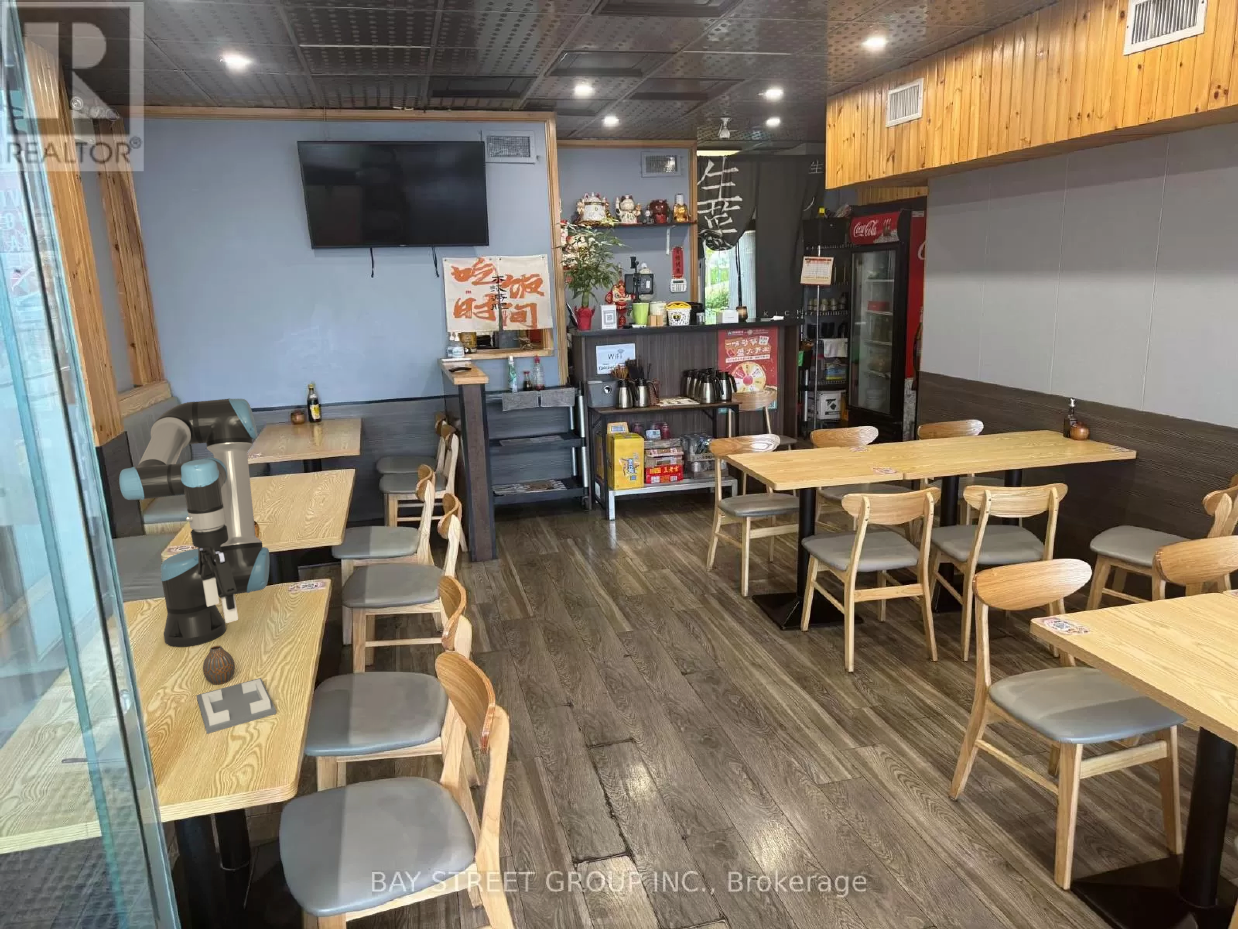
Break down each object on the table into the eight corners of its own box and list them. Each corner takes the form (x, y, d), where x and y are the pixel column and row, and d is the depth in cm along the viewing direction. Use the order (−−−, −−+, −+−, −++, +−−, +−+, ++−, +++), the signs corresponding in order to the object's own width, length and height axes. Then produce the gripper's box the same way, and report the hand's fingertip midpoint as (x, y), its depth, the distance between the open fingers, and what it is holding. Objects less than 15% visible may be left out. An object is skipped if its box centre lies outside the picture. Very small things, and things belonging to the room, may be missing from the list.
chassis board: (197, 699, 193) (195, 687, 192) (261, 682, 200) (259, 670, 199) (206, 733, 178) (204, 720, 177) (276, 713, 185) (274, 700, 184)
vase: (228, 671, 206) (223, 638, 204) (242, 679, 202) (236, 645, 200) (200, 682, 201) (194, 649, 199) (213, 690, 197) (208, 656, 195)
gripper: (175, 519, 198) (189, 602, 203) (208, 543, 180) (222, 633, 185) (208, 512, 203) (221, 594, 208) (243, 534, 185) (257, 623, 190)
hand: (222, 612), depth 197 cm, fingers open, 13 cm apart
